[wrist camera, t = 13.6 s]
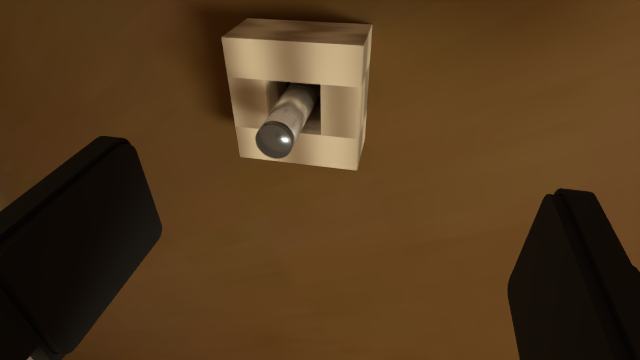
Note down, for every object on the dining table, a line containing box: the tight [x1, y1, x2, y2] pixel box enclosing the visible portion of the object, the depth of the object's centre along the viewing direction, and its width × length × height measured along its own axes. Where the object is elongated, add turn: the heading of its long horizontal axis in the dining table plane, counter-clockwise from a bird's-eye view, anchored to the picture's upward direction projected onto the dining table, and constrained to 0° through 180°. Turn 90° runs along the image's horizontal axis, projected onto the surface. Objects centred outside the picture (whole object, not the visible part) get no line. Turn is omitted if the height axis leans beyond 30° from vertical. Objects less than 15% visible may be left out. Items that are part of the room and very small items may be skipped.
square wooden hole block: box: [221, 18, 372, 170], centre depth 38 cm, size 12×12×6 cm
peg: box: [255, 82, 321, 159], centre depth 36 cm, size 3×3×12 cm
